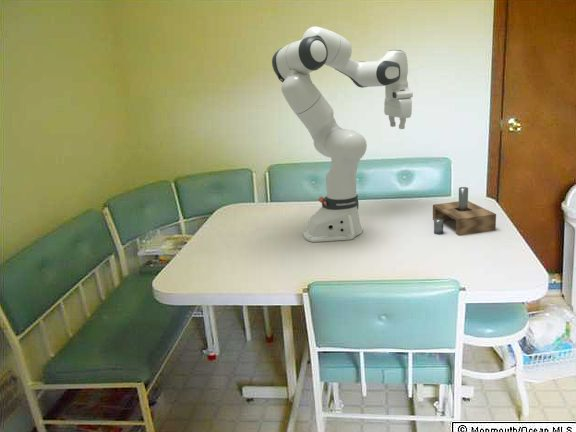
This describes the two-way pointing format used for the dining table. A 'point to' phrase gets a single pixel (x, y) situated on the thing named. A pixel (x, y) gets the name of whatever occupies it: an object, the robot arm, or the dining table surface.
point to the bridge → (466, 217)
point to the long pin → (463, 199)
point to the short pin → (438, 226)
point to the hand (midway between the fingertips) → (397, 127)
